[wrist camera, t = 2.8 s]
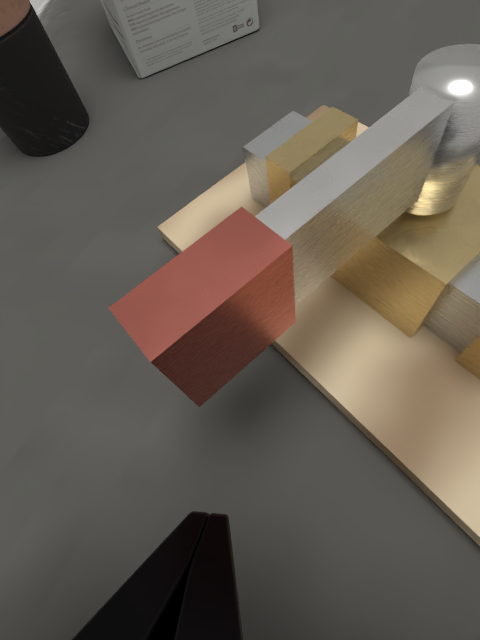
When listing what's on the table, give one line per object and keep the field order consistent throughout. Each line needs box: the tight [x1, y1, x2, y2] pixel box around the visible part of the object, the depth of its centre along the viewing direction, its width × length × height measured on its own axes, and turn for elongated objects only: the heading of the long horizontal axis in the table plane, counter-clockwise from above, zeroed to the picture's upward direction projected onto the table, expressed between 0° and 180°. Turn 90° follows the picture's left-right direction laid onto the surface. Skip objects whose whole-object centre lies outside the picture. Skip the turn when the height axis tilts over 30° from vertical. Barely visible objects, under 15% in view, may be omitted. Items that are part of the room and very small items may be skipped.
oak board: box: [157, 105, 480, 546], centre depth 21 cm, size 26×16×1 cm, turn 41°
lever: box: [109, 44, 480, 407], centre depth 12 cm, size 14×3×5 cm, turn 131°
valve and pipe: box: [243, 107, 480, 379], centre depth 18 cm, size 20×6×5 cm, turn 41°
